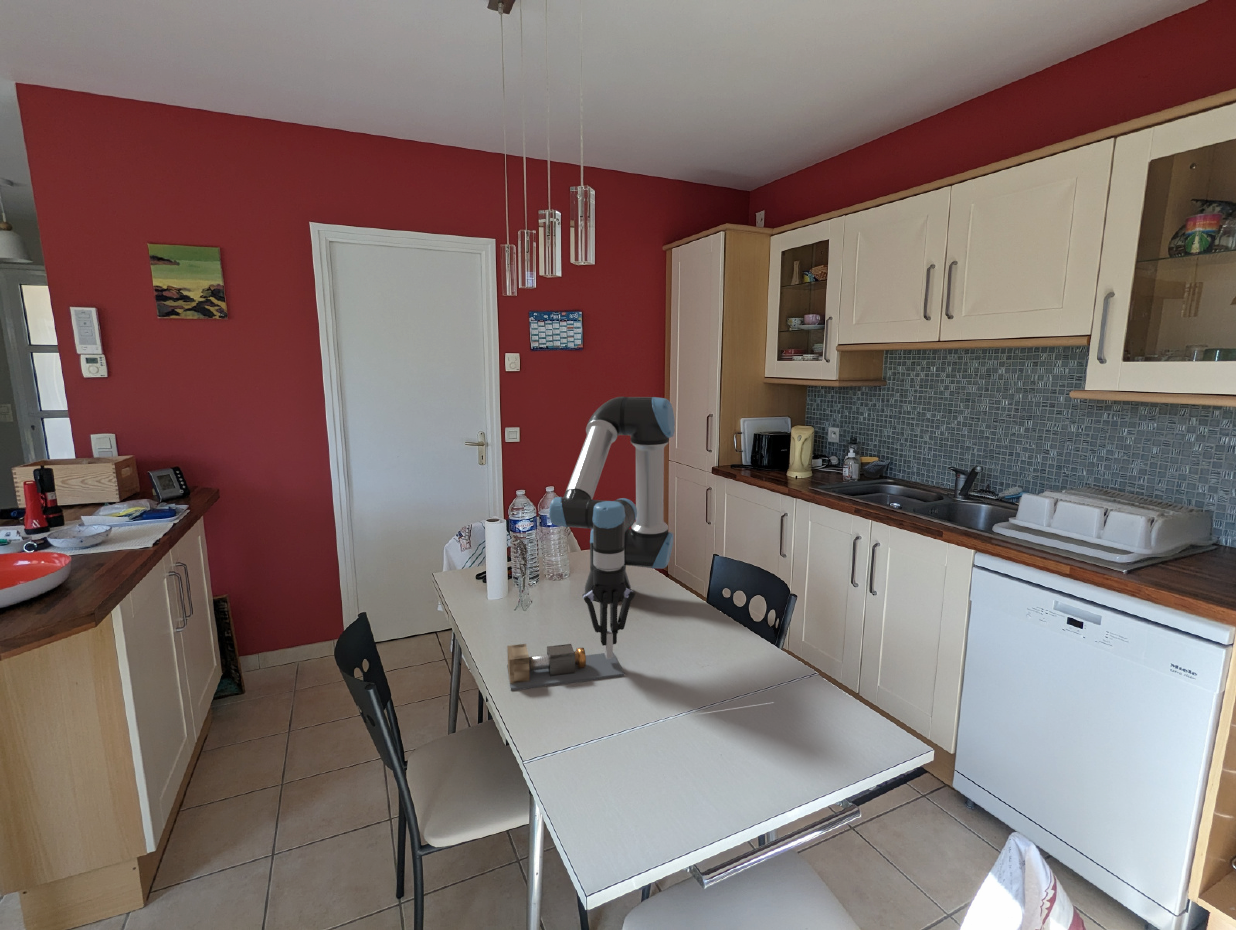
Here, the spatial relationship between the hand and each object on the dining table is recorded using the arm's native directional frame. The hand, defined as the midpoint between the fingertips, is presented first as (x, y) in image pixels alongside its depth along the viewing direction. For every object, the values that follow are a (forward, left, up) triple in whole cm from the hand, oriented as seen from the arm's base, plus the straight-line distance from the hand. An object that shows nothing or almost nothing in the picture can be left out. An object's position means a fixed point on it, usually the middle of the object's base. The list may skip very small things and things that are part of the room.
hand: (608, 655), depth 146 cm
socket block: (+22, 0, -3) cm, 22 cm away
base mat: (+11, 0, -3) cm, 11 cm away
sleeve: (+12, 0, -3) cm, 12 cm away
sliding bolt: (+15, 0, -2) cm, 15 cm away
